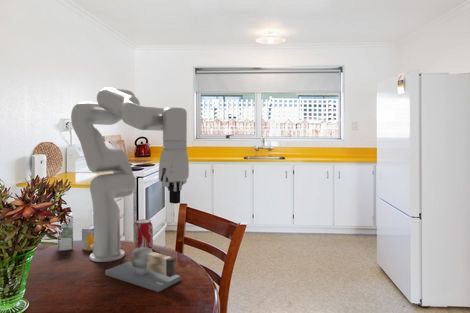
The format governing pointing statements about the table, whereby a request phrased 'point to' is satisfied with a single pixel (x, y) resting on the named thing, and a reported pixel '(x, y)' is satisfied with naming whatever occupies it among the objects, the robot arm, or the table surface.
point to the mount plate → (142, 276)
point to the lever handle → (154, 261)
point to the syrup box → (66, 236)
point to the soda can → (143, 234)
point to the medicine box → (84, 235)
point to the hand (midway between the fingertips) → (174, 202)
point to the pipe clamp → (90, 241)
